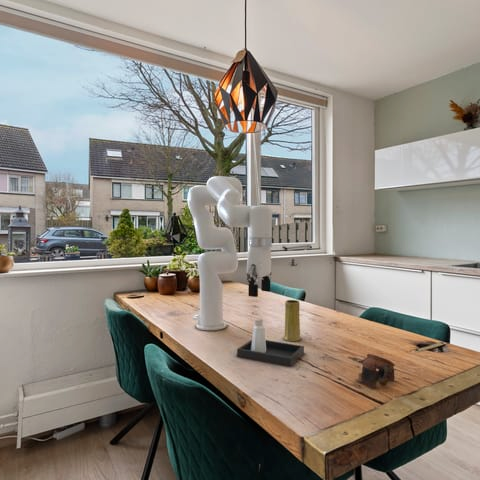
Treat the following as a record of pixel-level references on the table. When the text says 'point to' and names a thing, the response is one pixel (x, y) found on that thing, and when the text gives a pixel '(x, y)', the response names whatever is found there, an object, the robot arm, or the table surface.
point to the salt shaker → (258, 337)
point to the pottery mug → (370, 373)
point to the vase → (292, 321)
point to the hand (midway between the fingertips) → (259, 293)
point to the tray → (273, 353)
